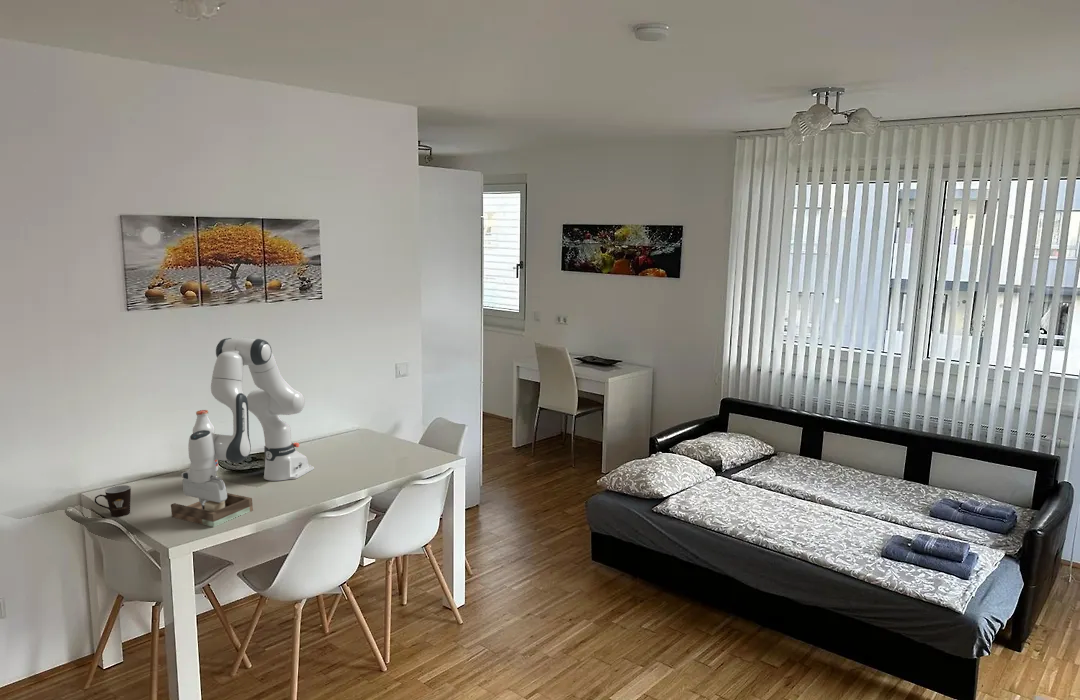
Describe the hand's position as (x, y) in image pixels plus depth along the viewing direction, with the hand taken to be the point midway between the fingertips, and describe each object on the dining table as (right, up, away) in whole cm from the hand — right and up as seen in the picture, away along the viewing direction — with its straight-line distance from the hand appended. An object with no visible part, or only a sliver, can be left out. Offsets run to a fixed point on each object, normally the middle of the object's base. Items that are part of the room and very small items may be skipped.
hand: (206, 509), depth 278 cm
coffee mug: (-37, -3, +6) cm, 38 cm away
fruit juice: (-25, +5, +56) cm, 61 cm away
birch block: (+4, -1, -2) cm, 5 cm away
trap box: (0, -3, +4) cm, 5 cm away
